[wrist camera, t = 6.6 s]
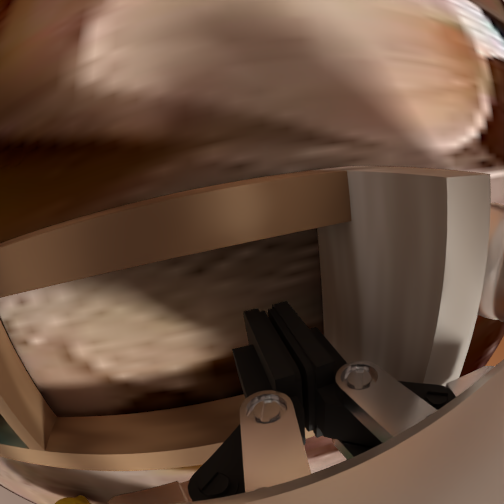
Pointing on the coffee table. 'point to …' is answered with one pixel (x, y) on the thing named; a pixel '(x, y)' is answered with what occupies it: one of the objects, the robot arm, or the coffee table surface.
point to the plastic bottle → (494, 268)
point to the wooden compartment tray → (251, 229)
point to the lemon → (73, 500)
